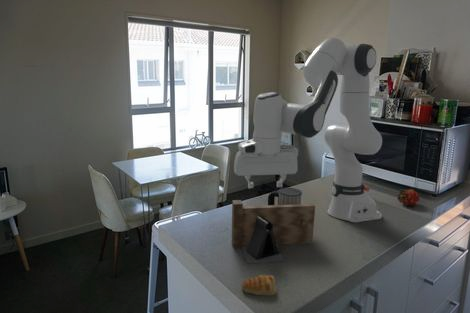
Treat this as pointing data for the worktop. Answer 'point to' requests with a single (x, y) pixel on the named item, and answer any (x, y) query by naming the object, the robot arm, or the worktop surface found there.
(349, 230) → the worktop surface
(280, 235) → the door panel
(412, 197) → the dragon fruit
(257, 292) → the pastry
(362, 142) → the robot arm
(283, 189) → the milk frother
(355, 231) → the worktop surface
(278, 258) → the door mat
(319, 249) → the worktop surface
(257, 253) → the phone stand
